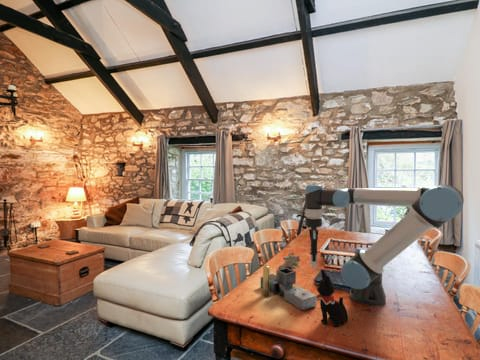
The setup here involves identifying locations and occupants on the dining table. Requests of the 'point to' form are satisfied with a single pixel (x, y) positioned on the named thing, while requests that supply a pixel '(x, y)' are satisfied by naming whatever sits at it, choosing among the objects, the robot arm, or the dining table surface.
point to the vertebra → (290, 261)
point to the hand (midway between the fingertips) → (313, 267)
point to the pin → (266, 280)
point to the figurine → (330, 302)
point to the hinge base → (281, 281)
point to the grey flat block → (300, 297)
